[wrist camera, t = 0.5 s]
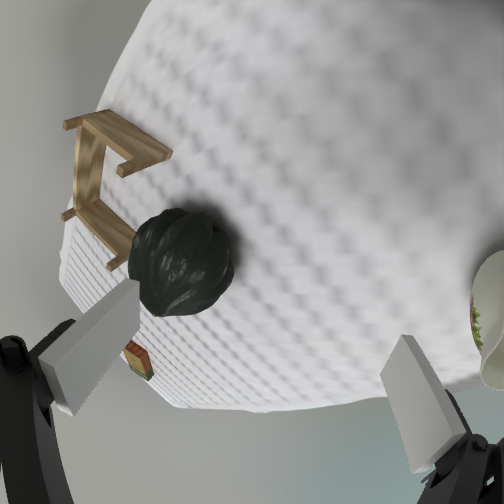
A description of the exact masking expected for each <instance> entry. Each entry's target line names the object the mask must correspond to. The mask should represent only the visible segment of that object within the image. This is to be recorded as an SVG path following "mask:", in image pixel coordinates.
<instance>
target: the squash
mask: <svg viewBox="0 0 504 504" xmlns="http://www.w3.org/2000/svg"><path fill="white" fill-rule="evenodd" d="M229 257H230V246H229V241H228V238H227V236H226V235H225V234H224V233H221V232H219V231H213V222H212V219H211V218H210V217H209V216H208V215H207V214H205V213H193V214H188V213H187V212H186V211H185V210H183V209H180V208H174V209H166V210H164V211H163V212H162V213H161V214H160V215H159V216H155V217H152V218H150V219H149V220H148V221H146V222H145V223H144V224H142V225H141V226H140V227H139V229H138V230H137V232H136V234H135V236H134V238H133V240H132V246H131V250H130V254H129V260H128V273H129V278H130V279H132V280H135V281H139V282H140V287H139V299H140V301H141V302H142V303H143V305H144V306H145V308H146V309H147V310H148V311H149V312H150V313H151V314H152V315H153V316H154V317H157V316H158V317H165V316H185V315H193V314H197V313H199V312H201V311H203V310H205V309H207V308H209V307H211V306H212V305H213V304H214V303H215V302H216V301H217V300H218V299H219V297H220V295H222V294H223V293H224V292H225V291H226V289H227V288H228V287H229V286H230V284H231V282H232V279H233V276H234V270H233V264H232V262H231V260H230V258H229Z"/></svg>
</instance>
